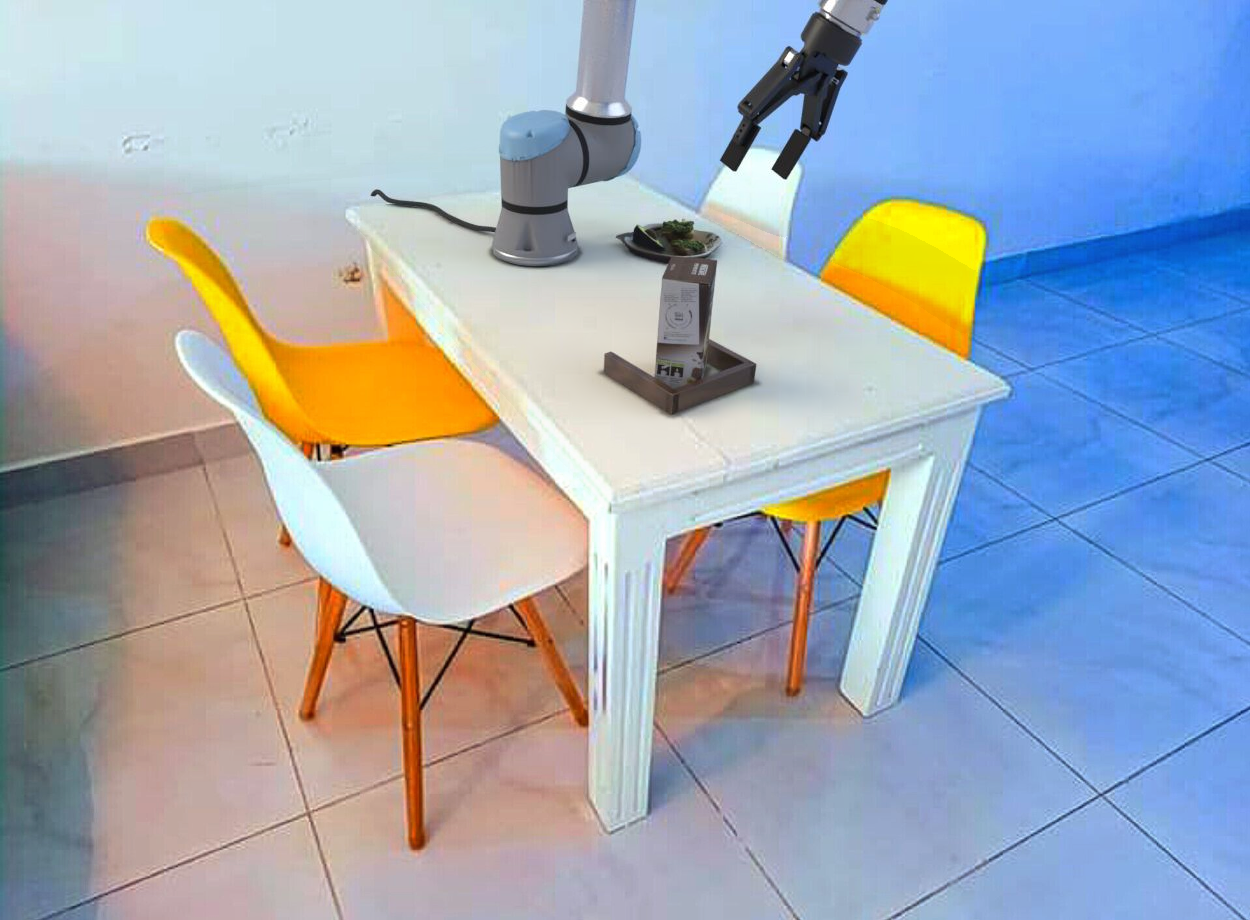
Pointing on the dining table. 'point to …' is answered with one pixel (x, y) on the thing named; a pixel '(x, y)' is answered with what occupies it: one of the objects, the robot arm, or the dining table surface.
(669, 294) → the coffee box
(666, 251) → the salad plate
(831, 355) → the dining table surface
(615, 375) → the walnut holder
